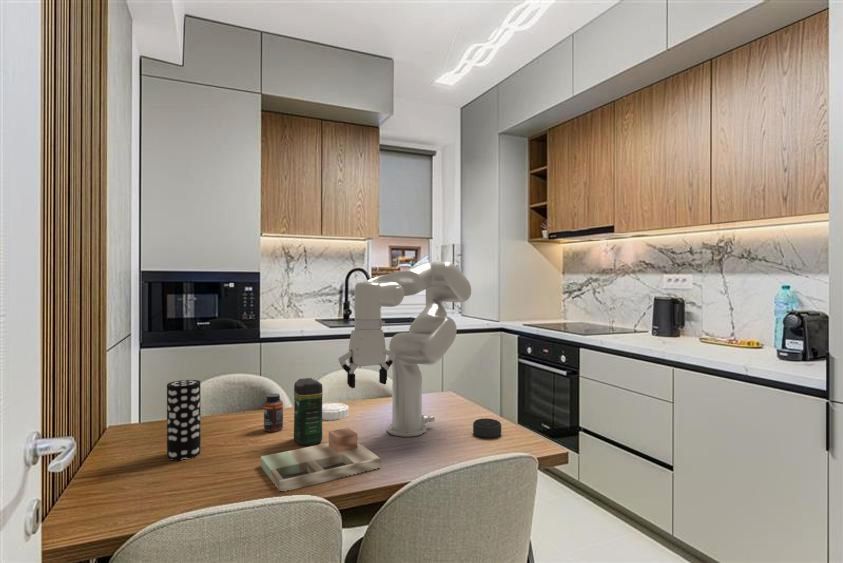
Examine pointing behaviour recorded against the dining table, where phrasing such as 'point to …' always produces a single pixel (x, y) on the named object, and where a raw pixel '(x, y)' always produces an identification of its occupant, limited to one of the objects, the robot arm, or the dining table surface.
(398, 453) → the dining table surface
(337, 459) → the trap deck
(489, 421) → the smart speaker
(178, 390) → the white-spotted black cylinder
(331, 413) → the mooncake
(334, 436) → the block
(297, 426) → the coffee jar
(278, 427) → the supplement bottle
